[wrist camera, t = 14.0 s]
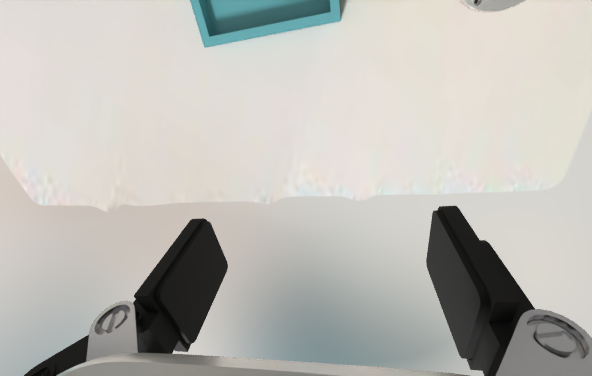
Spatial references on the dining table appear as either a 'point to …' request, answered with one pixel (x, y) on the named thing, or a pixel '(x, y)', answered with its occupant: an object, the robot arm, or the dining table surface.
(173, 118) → the dining table surface
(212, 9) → the tray
